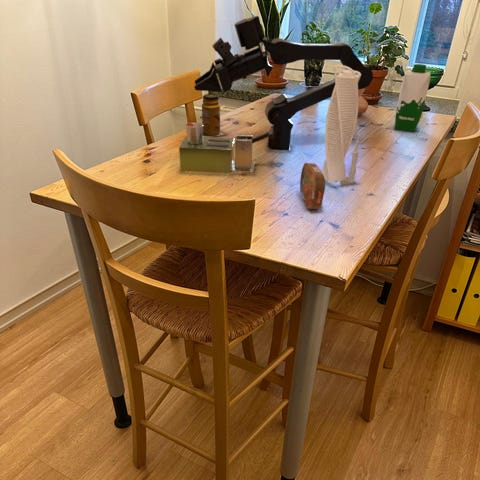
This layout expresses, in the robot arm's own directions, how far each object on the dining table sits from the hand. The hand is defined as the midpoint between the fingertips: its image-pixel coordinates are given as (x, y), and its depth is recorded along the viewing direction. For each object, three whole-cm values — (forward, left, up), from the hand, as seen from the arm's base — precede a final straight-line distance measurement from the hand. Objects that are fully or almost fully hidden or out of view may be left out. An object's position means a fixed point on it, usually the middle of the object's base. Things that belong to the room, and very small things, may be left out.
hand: (194, 85), depth 133 cm
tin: (-34, +36, -18) cm, 52 cm away
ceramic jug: (-52, -50, -18) cm, 74 cm away
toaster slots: (-9, +16, -11) cm, 21 cm away
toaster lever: (-19, +16, -11) cm, 27 cm away
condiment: (-2, -16, -18) cm, 24 cm away
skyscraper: (-41, +21, -18) cm, 49 cm away
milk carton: (-71, -33, -18) cm, 80 cm away
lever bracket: (-16, +16, -18) cm, 29 cm away
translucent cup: (-2, +16, -11) cm, 19 cm away
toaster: (-6, +16, -18) cm, 25 cm away
